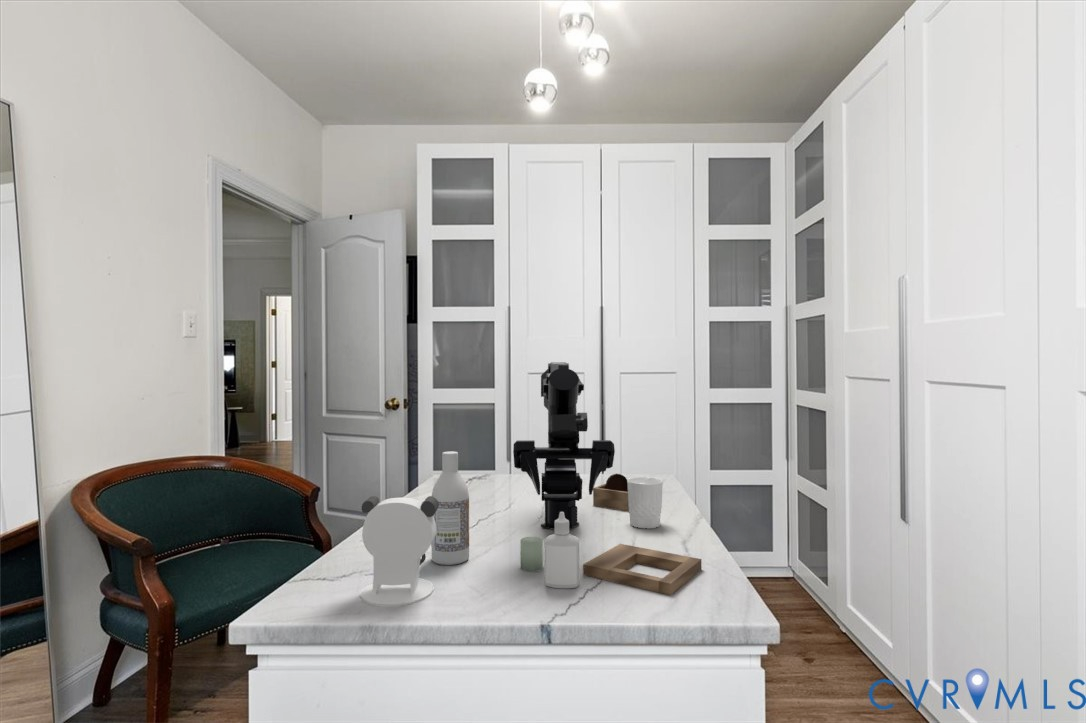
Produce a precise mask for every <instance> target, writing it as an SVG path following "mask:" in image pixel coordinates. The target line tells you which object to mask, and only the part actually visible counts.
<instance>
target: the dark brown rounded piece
mask: <svg viewBox="0 0 1086 723" xmlns="http://www.w3.org/2000/svg"><path fill="white" fill-rule="evenodd" d="M627 480H628V478H627V477H626V476H624V475H622V474H620V473H614V474H611V475H609V477H608V478H607V479H606V482H605V484H606V489H609V490H616V491H624V492H627V491H628V486H627Z"/></svg>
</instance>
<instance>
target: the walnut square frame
mask: <svg viewBox="0 0 1086 723" xmlns="http://www.w3.org/2000/svg"><path fill="white" fill-rule="evenodd" d="M636 564H639V565H643V566H648V567H652V568H659V569H663V570H668V571H670V572H669V573H667V575H664V576H663V577H659V576H655V575H649V574H646V573H645V574H644V573H640V572H635V571H631V570H628V569H630V568H631V567H632V566H635V565H636ZM701 570H702V558H697V557H692V556H687V555H681V554H676V553H672V552H671V553H670V552H668V551H667V552H666V551H661V550H655V549H649V548H644V547H640V546H633V545H630V544H629V545H628V544H624V543H619V544H617V545H615V546H613V547H612V548H610V549H608V550H606V551H605V552H602V553H601V554H599V555H597V556H595V557H594V558H592V559H590V560H588V561H586V562H584V563H583V564H582V575H583V576H587V577H590V578H596V579H599V580H605V581H608V582H613V583H617V584H621V585H626V586H630V587H635V588H638V589H643V590H648V591H652V592H656V593H660V594H665V595H668V596H672V595H673V594H674V593H675V592H676V591H677V590H679V589H680V588H681V587H682V586H683V585H685V584H686V583H687V582H689V580H690V579H692V578H693V577H694V576H695V575H697V574H698V573H699V572H701Z"/></svg>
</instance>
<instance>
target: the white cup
mask: <svg viewBox="0 0 1086 723" xmlns="http://www.w3.org/2000/svg"><path fill="white" fill-rule="evenodd" d="M627 486H628V506H629V511H628V513H629V524H630V526H631V527H633V526H634V528H637V527H638V528H637V529H645V528H647V529H656V527H657V528H659V527H660V526H661V514H662V506H663V505H662V504H663V480H662V479H660V478H656V477H652V476H651V477H650V476H647V477H646V476H639V477H638V476H637V477H630V478H627Z"/></svg>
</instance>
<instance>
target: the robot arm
mask: <svg viewBox="0 0 1086 723" xmlns="http://www.w3.org/2000/svg"><path fill="white" fill-rule="evenodd" d="M582 391H585V384H584V383H583V382H582V381H581V378H580V377H579V375H578V373H577V372H576V371H574V370H572V369H571V368H570V363H569V362H564V361H561V362H553V361H552V362H550V363H549V362H548V363H547V369H546V370H545V371H544V372H543V373H542V374H541V375H540V398H543V406H544V408H546V410H547V423H548V425H547V428H548V429H547V435H548V436H547V444H548V446H545V447H544V446H543V447H542V446H541V447H539V446H538V447H537V446H535V445H536V442H535V440H527V439H526V440H523V439H522V440H518V439H517V440H516V441H514V443H513V450H512V453H513V465H514V468H516V469H520V471H521V472H523V473H526V474H527V475H528V477H529V478H530V480H531V482H532V484H533V486H534V489H535V491H536V493H537V496H540V495H541V501H542V502H544V523H542V524H540V527H541V528H545V529H550V530H554V531H555V520H556V519H558V518H559V514H560V512H564V515H565V518H566V519H567V520H569V530H571V529H573V528H576V527H578V526H580V522H578V506H577V504H576V501H577V502H579V501H580V500H582V499H583V478H581V476H580V473H579V472H577V464H576V460H590V470H589V472H590V474H589V482H588V495H590V496H591V495H593V488H595V485H596V482H597V480H598V478H599V476H600V474H601V472H602V473H603V472H606V471H607V469H611V468H612V467H613V466H614V461H615V460H614V459H615V453H616V450H615V443H614V442H613V441H612V440H610V439H609V440H608V439H607V440H606V439H605V440H604V439H603V440H600V439H598V440H596V439H595V440H594V439H593V440H592V444H591V448H590V447H580V448H579V444H580V432H587V431H588V427H589V426H588V424H589V423H588V422H589V421H588V412H577V411H578V410H577V403H578V398H579V396H580V395H581V393H582ZM541 459H542V460H543V459H545V462H544V472H542V473H541V480H540V475H539V467H538V466H539V465H538V460H541ZM613 468H614V467H613ZM540 481H541V482H540Z"/></svg>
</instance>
